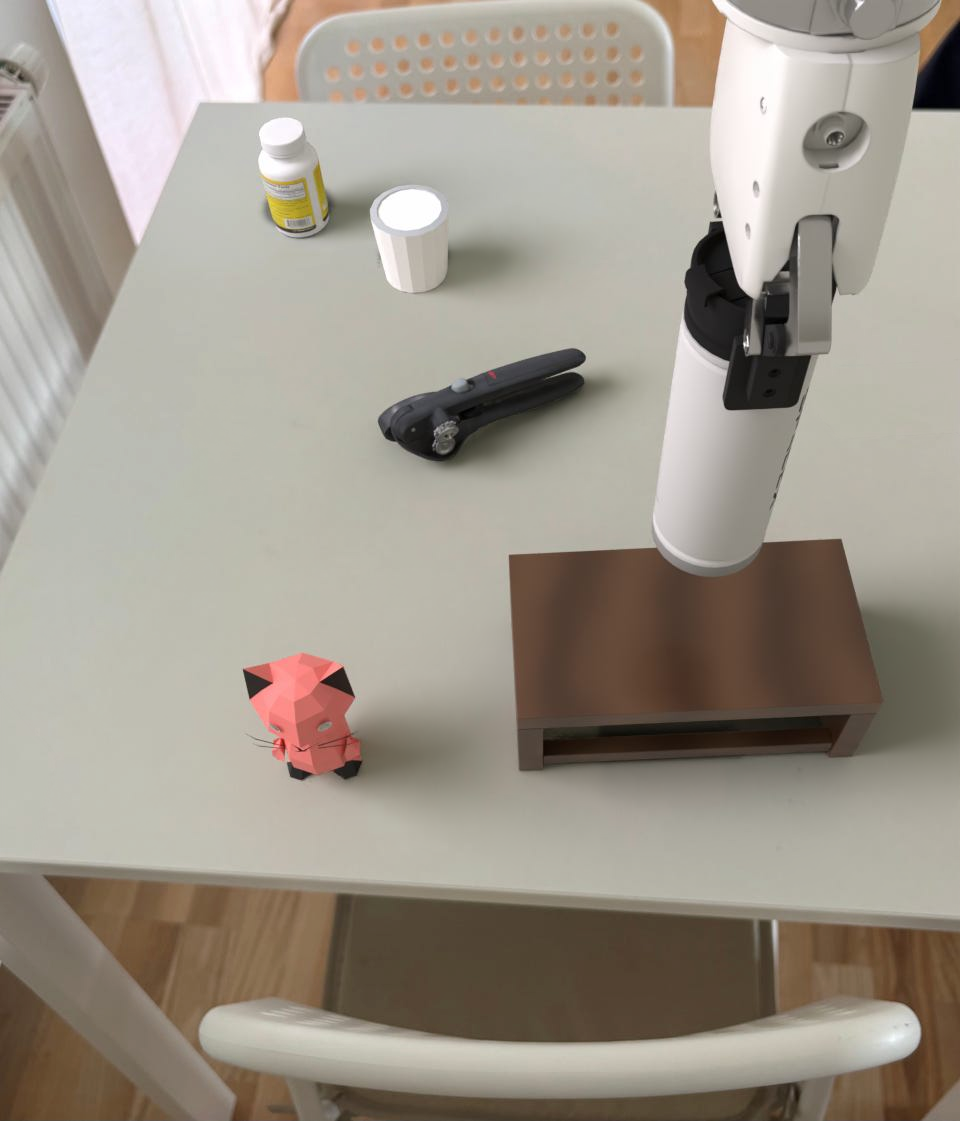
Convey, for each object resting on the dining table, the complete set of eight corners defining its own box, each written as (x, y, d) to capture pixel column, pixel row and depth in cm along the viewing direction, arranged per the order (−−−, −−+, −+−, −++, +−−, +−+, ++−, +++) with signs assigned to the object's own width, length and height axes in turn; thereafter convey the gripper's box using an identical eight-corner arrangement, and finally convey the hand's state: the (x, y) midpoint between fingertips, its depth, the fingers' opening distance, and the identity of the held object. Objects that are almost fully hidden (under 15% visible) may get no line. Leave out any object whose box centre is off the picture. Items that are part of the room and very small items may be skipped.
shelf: (816, 601, 79) (841, 538, 73) (852, 756, 73) (883, 702, 66) (511, 616, 80) (508, 554, 73) (519, 771, 73) (516, 718, 66)
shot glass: (411, 309, 98) (403, 246, 92) (363, 271, 101) (353, 208, 95) (469, 272, 100) (465, 209, 94) (421, 236, 103) (414, 172, 97)
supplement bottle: (304, 194, 107) (285, 104, 99) (341, 218, 105) (325, 128, 97) (262, 222, 105) (239, 132, 97) (298, 247, 103) (278, 157, 95)
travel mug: (626, 513, 63) (656, 237, 47) (726, 475, 65) (791, 192, 48) (679, 597, 60) (732, 332, 44) (784, 555, 61) (874, 281, 45)
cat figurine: (268, 801, 73) (225, 722, 63) (278, 707, 76) (239, 619, 66) (374, 799, 72) (349, 719, 62) (379, 705, 76) (356, 616, 66)
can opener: (406, 487, 87) (399, 441, 82) (373, 427, 90) (364, 380, 86) (605, 410, 90) (609, 362, 86) (566, 355, 94) (567, 305, 89)
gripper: (1034, 98, 30) (871, 493, 45) (888, -187, 40) (793, 216, 55) (760, 114, 30) (687, 502, 45) (680, -174, 40) (642, 224, 55)
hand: (746, 343), depth 50 cm, fingers closed on travel mug, 6 cm apart
